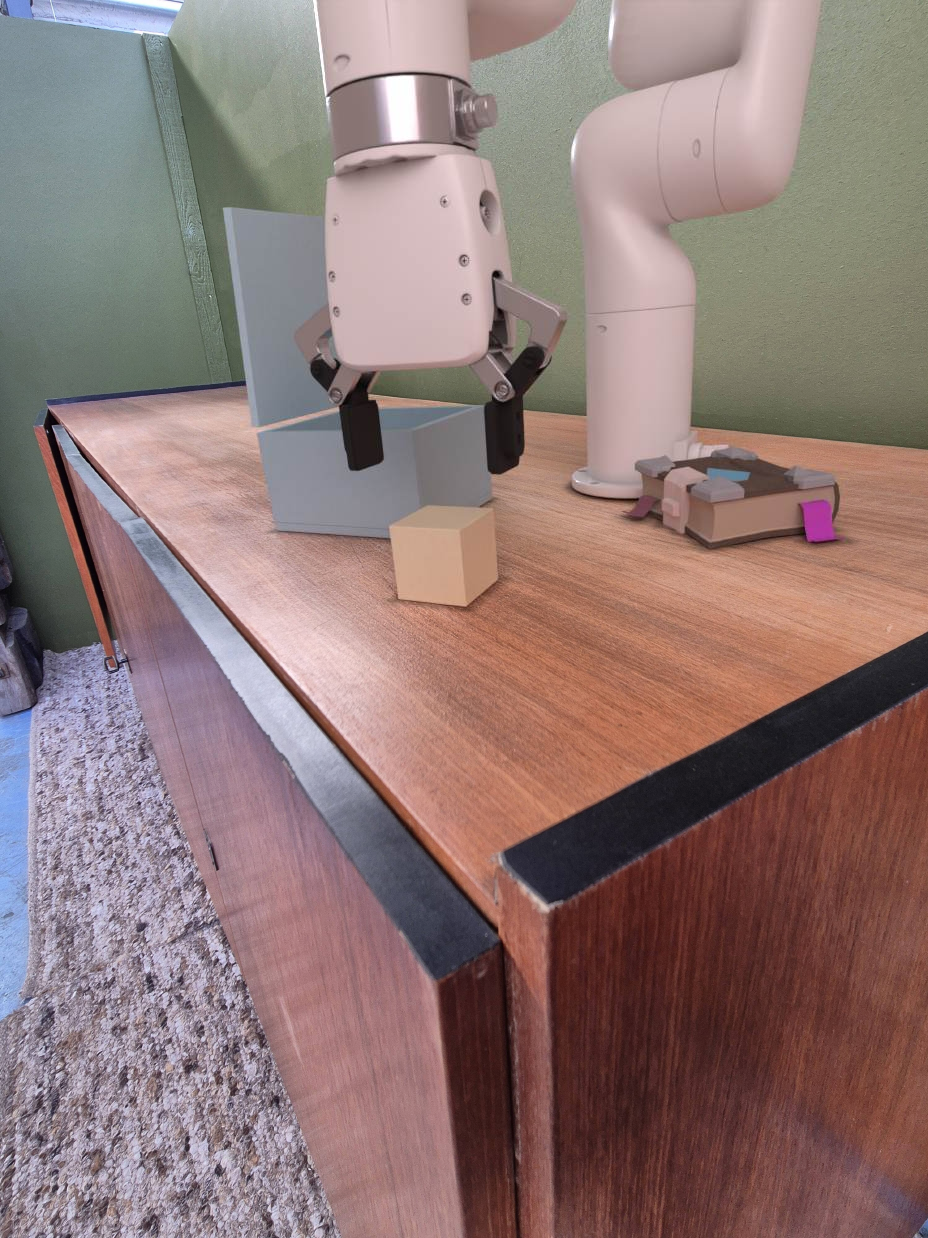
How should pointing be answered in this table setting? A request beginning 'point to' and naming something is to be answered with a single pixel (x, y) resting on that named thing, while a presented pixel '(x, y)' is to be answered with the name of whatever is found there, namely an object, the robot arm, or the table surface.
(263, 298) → the lid
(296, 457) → the chest
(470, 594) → the block
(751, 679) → the table surface
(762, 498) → the book
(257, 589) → the table surface
